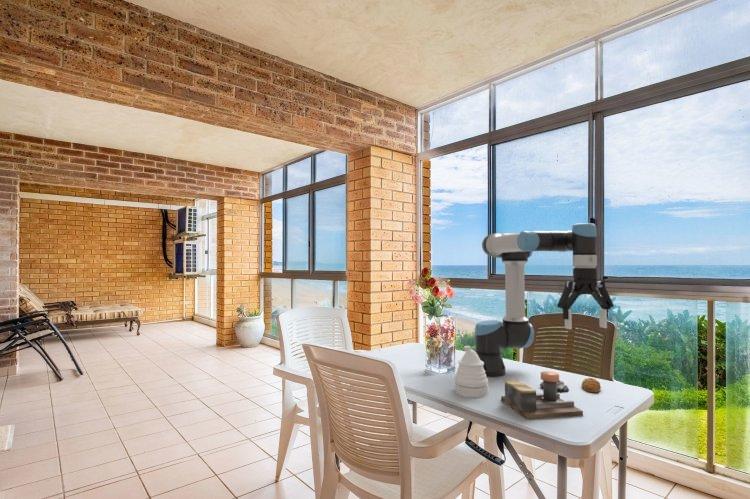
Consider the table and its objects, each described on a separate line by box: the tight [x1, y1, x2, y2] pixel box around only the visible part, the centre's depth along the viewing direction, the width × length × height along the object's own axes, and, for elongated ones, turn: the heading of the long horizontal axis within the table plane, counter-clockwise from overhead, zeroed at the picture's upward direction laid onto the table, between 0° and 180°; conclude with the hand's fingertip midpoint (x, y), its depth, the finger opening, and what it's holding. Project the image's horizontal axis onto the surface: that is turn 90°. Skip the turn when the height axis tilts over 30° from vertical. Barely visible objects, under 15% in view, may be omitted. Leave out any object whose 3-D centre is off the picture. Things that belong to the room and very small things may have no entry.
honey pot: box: [454, 345, 489, 398], centre depth 156 cm, size 13×13×18 cm
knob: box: [540, 370, 560, 402], centre depth 140 cm, size 6×6×10 cm
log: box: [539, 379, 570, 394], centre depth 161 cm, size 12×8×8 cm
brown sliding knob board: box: [500, 379, 584, 421], centre depth 139 cm, size 18×20×8 cm
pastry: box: [581, 377, 602, 393], centre depth 158 cm, size 9×7×4 cm
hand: (585, 328), depth 138 cm, fingers open, 13 cm apart
